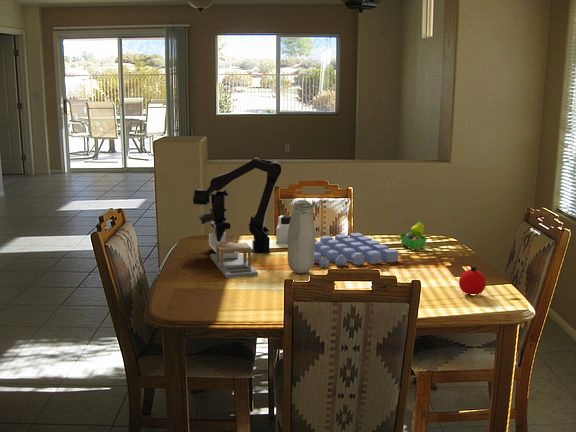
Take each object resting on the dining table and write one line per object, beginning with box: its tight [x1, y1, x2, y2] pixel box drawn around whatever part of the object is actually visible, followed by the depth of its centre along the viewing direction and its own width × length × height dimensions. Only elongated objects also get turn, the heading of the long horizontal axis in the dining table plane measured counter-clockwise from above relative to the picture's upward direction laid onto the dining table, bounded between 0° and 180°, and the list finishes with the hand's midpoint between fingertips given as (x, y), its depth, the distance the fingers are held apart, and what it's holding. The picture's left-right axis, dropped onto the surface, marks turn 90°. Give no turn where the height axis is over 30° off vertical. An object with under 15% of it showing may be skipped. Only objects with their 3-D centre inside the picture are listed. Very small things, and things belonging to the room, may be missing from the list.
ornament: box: [458, 266, 487, 295], centre depth 228 cm, size 9×9×10 cm
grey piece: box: [209, 242, 259, 279], centre depth 260 cm, size 12×30×8 cm, turn 18°
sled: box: [208, 232, 239, 259], centre depth 276 cm, size 7×24×5 cm, turn 18°
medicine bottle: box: [275, 214, 291, 245], centre depth 300 cm, size 7×7×12 cm
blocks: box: [313, 232, 399, 268], centre depth 280 cm, size 35×34×5 cm
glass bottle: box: [287, 199, 316, 274], centre depth 251 cm, size 10×10×28 cm
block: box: [220, 241, 236, 253], centre depth 269 cm, size 5×5×4 cm
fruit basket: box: [399, 221, 428, 249], centre depth 293 cm, size 11×9×11 cm
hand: (218, 241), depth 285 cm, fingers closed
